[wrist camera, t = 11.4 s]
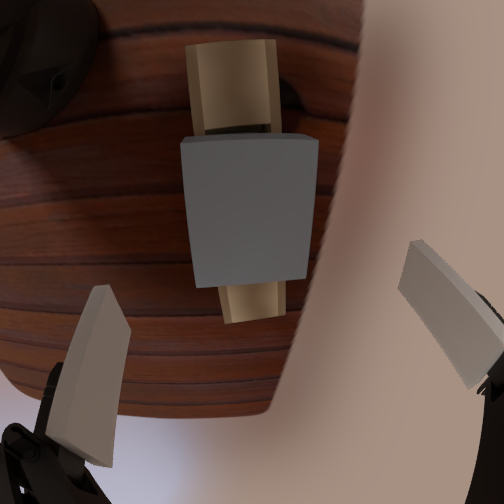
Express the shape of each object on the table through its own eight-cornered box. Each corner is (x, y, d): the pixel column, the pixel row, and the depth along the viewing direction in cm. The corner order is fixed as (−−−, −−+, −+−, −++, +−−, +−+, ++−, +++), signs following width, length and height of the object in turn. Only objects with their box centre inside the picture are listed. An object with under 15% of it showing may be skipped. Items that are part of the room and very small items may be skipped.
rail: (222, 297, 30) (224, 323, 26) (189, 55, 17) (184, 46, 14) (277, 289, 30) (285, 314, 27) (264, 49, 18) (275, 39, 14)
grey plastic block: (198, 240, 25) (196, 288, 19) (189, 130, 20) (180, 143, 14) (283, 234, 26) (305, 278, 20) (288, 127, 21) (318, 140, 15)
